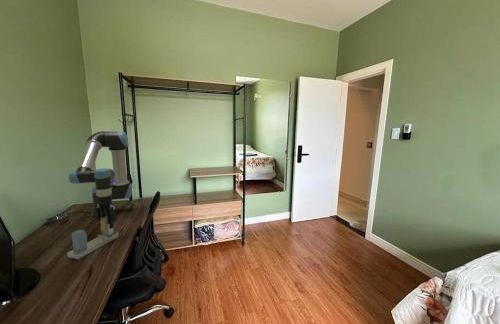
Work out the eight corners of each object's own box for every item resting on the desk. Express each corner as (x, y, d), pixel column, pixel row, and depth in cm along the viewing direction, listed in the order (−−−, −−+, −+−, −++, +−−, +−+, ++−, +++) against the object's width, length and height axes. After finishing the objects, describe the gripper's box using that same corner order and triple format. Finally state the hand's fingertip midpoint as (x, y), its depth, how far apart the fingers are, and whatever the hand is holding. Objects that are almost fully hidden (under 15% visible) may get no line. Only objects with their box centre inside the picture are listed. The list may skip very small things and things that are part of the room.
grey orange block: (108, 230, 126) (106, 215, 125) (113, 231, 125) (112, 216, 124) (101, 234, 122) (99, 218, 120) (106, 235, 121) (104, 219, 119)
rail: (109, 234, 129) (108, 216, 127) (118, 236, 127) (117, 217, 126) (67, 257, 106) (64, 234, 104) (78, 259, 104) (75, 236, 103)
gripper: (121, 194, 122) (124, 231, 125) (99, 192, 126) (102, 227, 129) (110, 198, 115) (113, 237, 118) (86, 195, 119) (90, 233, 122)
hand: (107, 232), depth 124 cm, fingers closed on grey orange block, 4 cm apart
